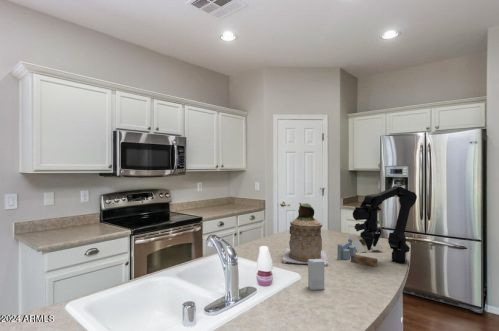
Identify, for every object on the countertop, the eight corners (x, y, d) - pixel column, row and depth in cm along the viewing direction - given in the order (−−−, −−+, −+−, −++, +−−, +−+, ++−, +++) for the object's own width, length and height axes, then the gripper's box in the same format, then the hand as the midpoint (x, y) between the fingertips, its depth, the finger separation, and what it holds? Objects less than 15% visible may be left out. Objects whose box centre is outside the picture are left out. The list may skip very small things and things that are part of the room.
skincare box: (321, 285, 131) (321, 258, 131) (324, 290, 127) (324, 261, 127) (307, 286, 131) (307, 258, 131) (310, 290, 126) (310, 261, 126)
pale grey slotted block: (381, 256, 188) (370, 236, 200) (384, 248, 183) (373, 228, 194) (355, 260, 188) (346, 240, 199) (358, 253, 182) (348, 232, 193)
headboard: (357, 253, 180) (357, 239, 180) (345, 261, 165) (345, 245, 165) (348, 252, 183) (348, 237, 183) (336, 259, 169) (336, 243, 169)
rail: (377, 265, 159) (377, 258, 159) (375, 267, 156) (375, 260, 156) (353, 260, 167) (353, 254, 167) (350, 261, 165) (350, 255, 165)
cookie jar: (328, 267, 156) (329, 205, 156) (281, 263, 161) (281, 204, 161) (326, 253, 180) (326, 200, 180) (285, 251, 185) (285, 199, 185)
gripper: (362, 215, 172) (362, 242, 172) (350, 219, 157) (350, 249, 157) (382, 217, 165) (382, 245, 165) (372, 222, 150) (372, 253, 150)
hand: (371, 248), depth 159 cm, fingers open, 9 cm apart
